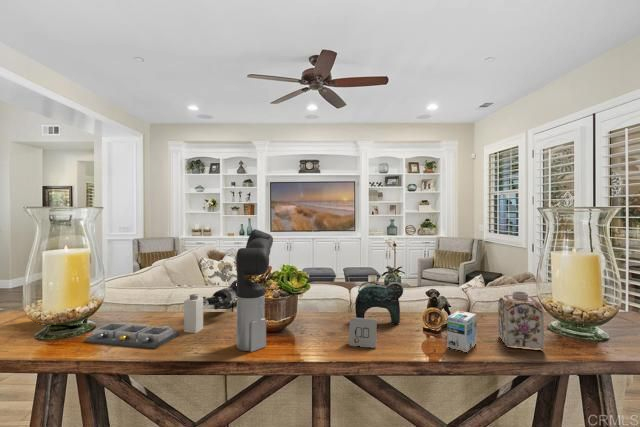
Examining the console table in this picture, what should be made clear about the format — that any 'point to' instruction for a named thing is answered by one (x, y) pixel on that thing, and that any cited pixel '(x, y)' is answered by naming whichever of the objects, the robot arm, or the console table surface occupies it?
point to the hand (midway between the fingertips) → (205, 306)
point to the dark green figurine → (380, 298)
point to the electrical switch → (362, 332)
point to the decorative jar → (521, 320)
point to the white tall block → (193, 314)
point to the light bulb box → (461, 330)
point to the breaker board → (132, 335)
